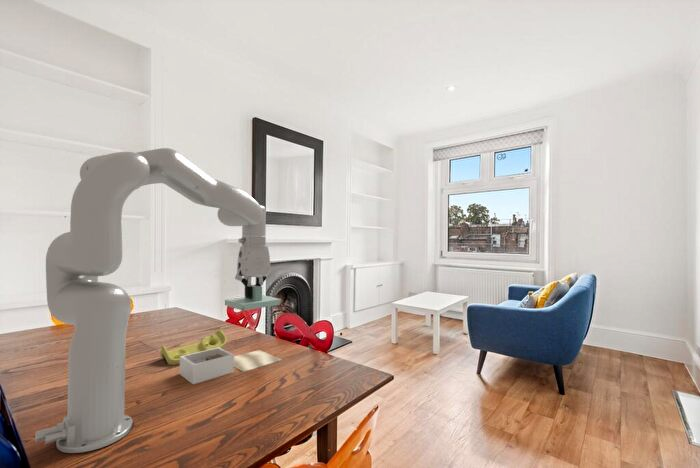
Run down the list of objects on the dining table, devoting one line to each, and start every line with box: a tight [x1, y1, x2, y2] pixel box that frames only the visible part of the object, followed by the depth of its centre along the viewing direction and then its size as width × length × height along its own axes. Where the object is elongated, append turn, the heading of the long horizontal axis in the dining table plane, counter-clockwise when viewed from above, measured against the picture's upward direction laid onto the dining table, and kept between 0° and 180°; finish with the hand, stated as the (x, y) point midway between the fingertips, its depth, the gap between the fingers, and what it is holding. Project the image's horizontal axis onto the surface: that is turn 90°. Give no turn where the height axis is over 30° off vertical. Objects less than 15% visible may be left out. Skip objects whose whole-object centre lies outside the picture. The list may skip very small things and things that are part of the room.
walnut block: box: [206, 354, 223, 361], centre depth 103 cm, size 4×4×4 cm
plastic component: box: [159, 329, 228, 366], centre depth 117 cm, size 20×7×10 cm
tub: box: [179, 347, 235, 385], centre depth 101 cm, size 12×10×6 cm
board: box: [234, 349, 283, 373], centre depth 112 cm, size 14×14×1 cm
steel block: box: [192, 358, 206, 364], centre depth 99 cm, size 4×4×4 cm
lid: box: [224, 284, 282, 311], centre depth 112 cm, size 14×12×6 cm
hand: (253, 297), depth 112 cm, fingers closed on lid
